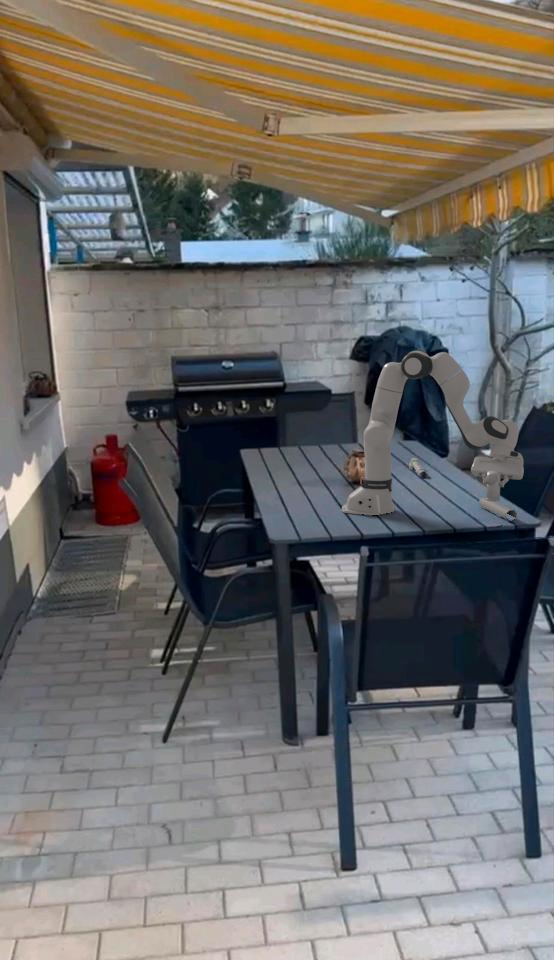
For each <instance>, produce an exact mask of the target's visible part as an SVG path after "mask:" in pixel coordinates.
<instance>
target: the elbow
mask: <svg viewBox="0 0 554 960" xmlns="http://www.w3.org/2000/svg"><path fill="white" fill-rule="evenodd" d="M501 479H502V478H501V472H495V471H488V472H487V476H486V477H485V482H486V483H487V485H486V486H485V488H486V489H485V490H486V493H485V496H486V497H485V498H486V500H488V501H495V502H499V501H500V500H501V487H500V486H499V483H500V481H501Z"/></svg>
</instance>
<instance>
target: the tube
mask: <svg viewBox="0 0 554 960" xmlns="http://www.w3.org/2000/svg"><path fill="white" fill-rule="evenodd" d="M478 505H479V507H480V506H481V507H483V508H485V509H487V510H489V511H491V512H493V513H496V514H498V515H500V516H502V517H504V518H505V519H506V513H507V514H509V515H511V516H513V517H515V518H517V519H518V513H517V511H516V510H515V509H514V508H513V509H512V508H510V507H508V506H506V505H503V504H502V503H500V502H498V501H488V500H486V497H482V498H480V499H479V501H478ZM481 507H480V508H481ZM483 508H482V509H483ZM485 509H484V510H485ZM487 510H486V511H487Z"/></svg>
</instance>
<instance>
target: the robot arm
mask: <svg viewBox="0 0 554 960" xmlns="http://www.w3.org/2000/svg"><path fill="white" fill-rule="evenodd" d="M379 374H380V375H379V377H378V379H377V383H376V387H375V392H374V395H373V400H372V403H371V411H370V415H369V416H370V417H369V420H368V421H369V422H368V425H367V426H366V428H365V429H364V430H363V437H362V438H363V452H364V453H363V454H364V476H361V477H360V482H359V484H360V485H359V487H358V488H356V489H355V490H353V491H352V492H351V493H350V494H349V495H348V497H347V500H346V503H344V505H342V507H341V512H343V514H355V515H362V514H364V516H372V515H378V516H381V515H386V513H388V514H392V513H394V512H395V508H394V504H393V496H392V491H393V478H392V453H391V439H392V438H393V434H394V431H395V427H396V421H397V417H398V411H399V407H400V403H401V399H402V396H403V392H404V387H405V384H406V382H407V380H408V379H411V380H419V379H422V378H423V377H426V376H431V377H433V379H434V380H435V381H436V383H437V385H439V387H440V389H441V390H442V392H443V394H444V395H443V396H444V397H445V399H444V401H445V404H446V405H445V406H446V407H447V409H448V412H449V413H450V415H451V417H452V419H453V421H454V422H455V424H456V426H457V428H458V430H459V432H460V434H461V438H462V441H463V442H464V444H465V446H466V447H468V448H469V449H470V450H474V451H480V450H481V449H483V448H484V447H485V446H487V445H488V444H491V445H492V446H491V450H490V454H489V455H487V454H486V455H484V454H478V455H476V456H475V457H474V459H473V463H472V465H471V468H470V472H471V474H472V475H473V477H474V476H476V477H482V480H483V481H482V485H483V486H487V483H486V482H485V477H486V476H487V472H488V471H495V472H501V479H503V480H500V483H499V486H500V488H504V487H505V484H507V482H509V480H518V481H520V480H522V479H523V476H524V473H525V471H524V469H525V468H524V462H525V461H524V457H523V455H522V454H521V453H520V452H517V451H515V448H516V446H517V443H518V439H519V426H518V425H517V423H516V422H515V421H513V420H510V419H504V420H503V419H499V418H497V417H496V416H492V415H489V416H487V417H485V418H483V419H481V420H479V421H478V422H476V423H473V422H472V420H471V418H470V416H469V415H468V413H467V410H466V409H465V405H464V400H465V397H466V396H467V394H468V392H469V389H470V385H471V384H470V383H471V382H470V378H469V377H468V375H467V373H466V372H465V370H464V369H463V368H462V366H461V365H460V364H459V363H458V361H456V360H455V359H454V357H453V356H451V354H450V353H448V352H445V351H441V352H438V353H436V354H435V355H432V356H430V355H429V354H428V353H427V352H426V351H423V350H413V351H410V352H408V353H407V354H406V355H404V357H403V358H402V360H401V362H395V361H390V362H387V363H386V364H384V365H383V367H382V370H381V372H380V373H379ZM391 512H392V513H391ZM380 514H381V515H380Z"/></svg>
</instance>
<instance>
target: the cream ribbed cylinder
mask: <svg viewBox="0 0 554 960" xmlns="http://www.w3.org/2000/svg"><path fill="white" fill-rule="evenodd" d="M408 466H409V468H408V469H409V471H410V470H411V471H416V474H417V476H418V477H419V478H420V479H426V478H427V477H428V472H427V470H425V468H423V467H422V465H420V463H419V460H418V458H417V457H412V458H411V459H410V462H409V463H408Z"/></svg>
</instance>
